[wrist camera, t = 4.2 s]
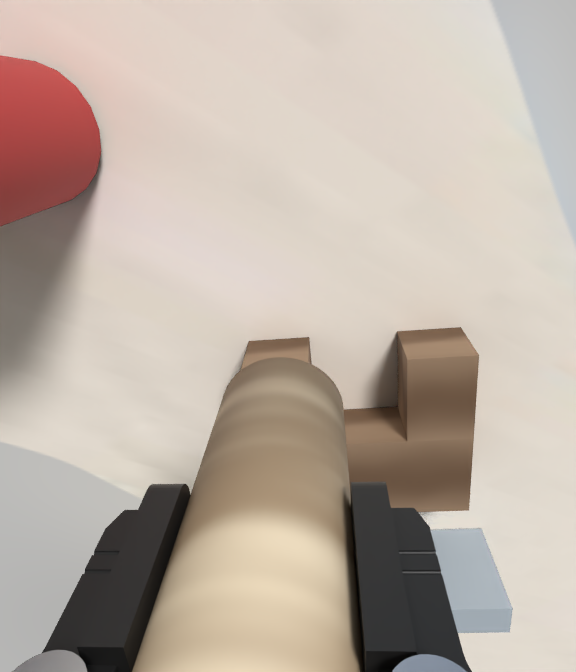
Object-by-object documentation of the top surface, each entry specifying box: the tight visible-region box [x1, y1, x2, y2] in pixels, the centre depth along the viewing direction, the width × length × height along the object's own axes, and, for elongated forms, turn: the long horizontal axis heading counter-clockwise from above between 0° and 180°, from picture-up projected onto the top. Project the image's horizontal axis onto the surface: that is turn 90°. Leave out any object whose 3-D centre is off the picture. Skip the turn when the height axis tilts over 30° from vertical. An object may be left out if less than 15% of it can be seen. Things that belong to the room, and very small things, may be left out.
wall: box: [431, 529, 513, 633], centre depth 32 cm, size 2×16×6 cm, turn 95°
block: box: [241, 327, 479, 512], centre depth 29 cm, size 10×12×4 cm
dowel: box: [132, 357, 364, 672], centre depth 9 cm, size 4×4×12 cm
